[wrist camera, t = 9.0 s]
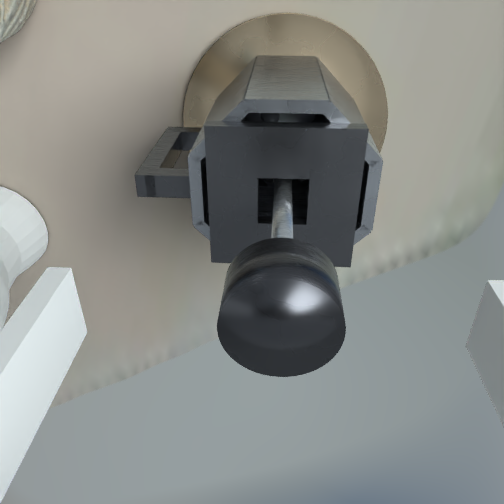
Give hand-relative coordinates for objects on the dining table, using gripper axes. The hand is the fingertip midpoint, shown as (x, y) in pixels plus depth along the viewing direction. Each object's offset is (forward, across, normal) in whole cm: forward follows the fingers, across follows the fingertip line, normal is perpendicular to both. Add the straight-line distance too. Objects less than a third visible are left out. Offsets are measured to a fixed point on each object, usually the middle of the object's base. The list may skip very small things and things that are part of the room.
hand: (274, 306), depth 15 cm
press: (+21, 0, 0) cm, 21 cm away
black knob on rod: (+18, 0, 0) cm, 18 cm away
